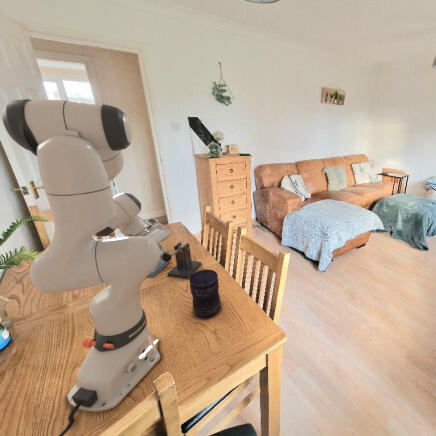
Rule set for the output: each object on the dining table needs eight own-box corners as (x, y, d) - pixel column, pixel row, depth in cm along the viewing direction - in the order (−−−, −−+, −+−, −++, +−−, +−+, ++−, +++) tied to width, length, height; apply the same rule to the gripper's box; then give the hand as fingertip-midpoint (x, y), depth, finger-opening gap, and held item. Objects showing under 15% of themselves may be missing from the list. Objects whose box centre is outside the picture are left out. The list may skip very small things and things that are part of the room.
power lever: (168, 263, 98) (167, 255, 97) (160, 262, 98) (159, 254, 97) (187, 251, 111) (187, 243, 110) (180, 250, 112) (179, 243, 111)
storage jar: (192, 304, 94) (187, 273, 88) (217, 297, 98) (214, 266, 92) (195, 322, 85) (190, 289, 80) (223, 314, 90) (220, 281, 84)
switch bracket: (188, 278, 108) (184, 252, 103) (168, 276, 109) (163, 250, 104) (201, 264, 119) (198, 239, 114) (182, 262, 120) (178, 237, 115)
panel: (153, 277, 108) (151, 269, 107) (133, 274, 109) (131, 267, 108) (169, 262, 119) (167, 256, 118) (150, 260, 120) (149, 253, 119)
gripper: (120, 237, 85) (150, 264, 88) (157, 216, 104) (181, 238, 107) (112, 247, 88) (142, 272, 90) (150, 224, 106) (173, 246, 109)
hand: (163, 254), depth 99 cm, fingers closed, pressing on power lever
